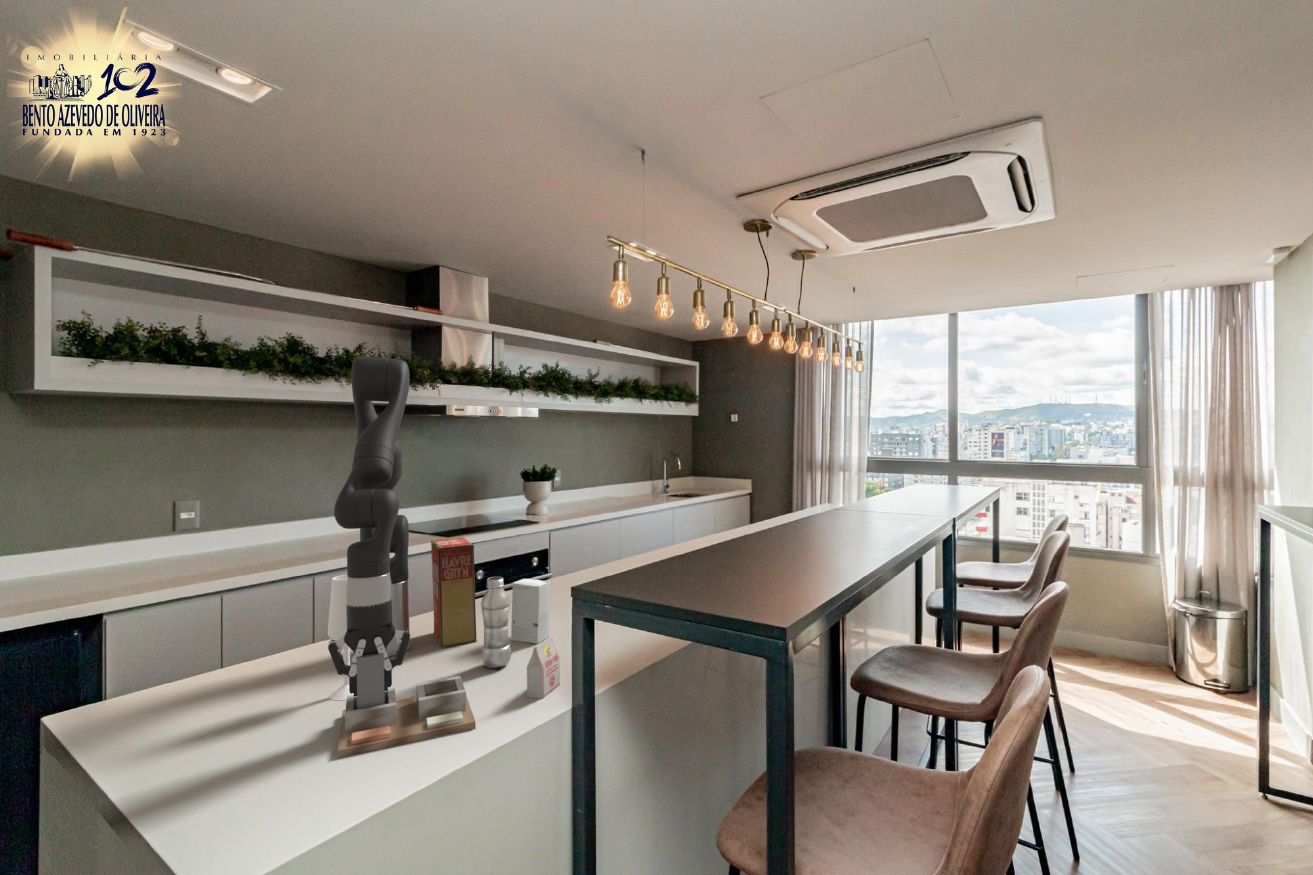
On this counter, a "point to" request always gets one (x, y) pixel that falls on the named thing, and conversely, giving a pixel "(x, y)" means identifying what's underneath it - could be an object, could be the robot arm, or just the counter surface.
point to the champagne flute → (339, 628)
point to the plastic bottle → (495, 624)
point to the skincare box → (530, 611)
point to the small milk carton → (543, 670)
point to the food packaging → (453, 591)
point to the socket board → (406, 717)
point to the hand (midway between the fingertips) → (371, 691)
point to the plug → (370, 680)
